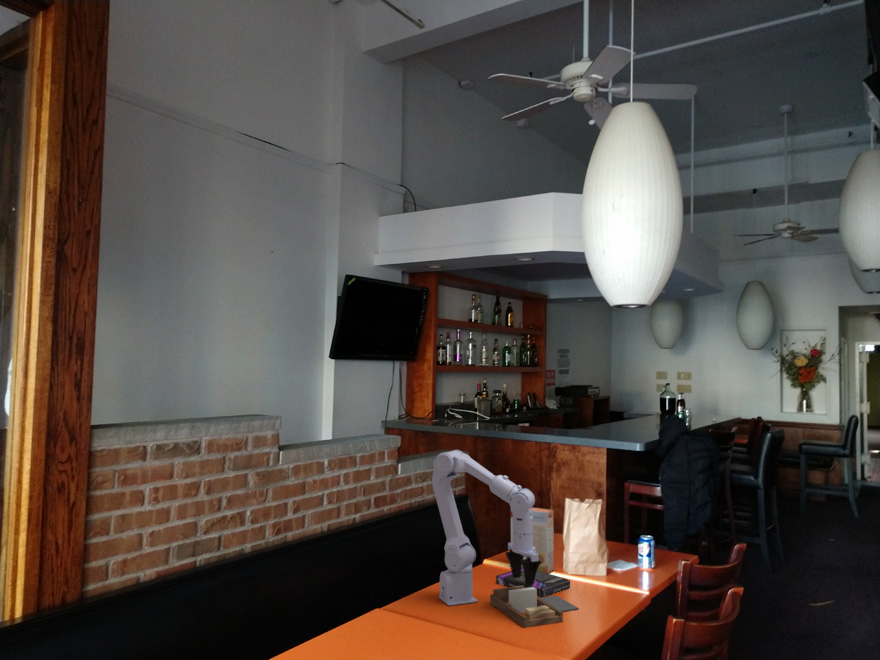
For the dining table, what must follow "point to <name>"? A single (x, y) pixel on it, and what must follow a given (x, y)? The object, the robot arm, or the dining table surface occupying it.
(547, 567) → the cracker box
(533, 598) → the light grey block
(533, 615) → the offcuts
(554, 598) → the mat
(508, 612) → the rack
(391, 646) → the dining table surface
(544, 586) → the box
